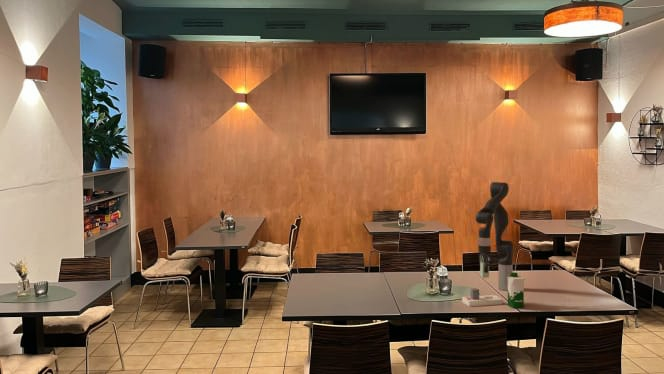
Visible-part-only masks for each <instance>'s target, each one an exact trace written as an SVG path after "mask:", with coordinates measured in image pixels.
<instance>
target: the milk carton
mask: <svg viewBox="0 0 664 374" xmlns="http://www.w3.org/2000/svg"><path fill="white" fill-rule="evenodd" d="M525 280H526V279H525V277H523V276H520V275H519V273H518V272H513V273H511V276H507V281H508V290H507V306H508V307H510V308H511V309H524V308H525V299H524V298H525V296H524V295H525V293H524V292H525V291H524V290H525ZM523 307H524V308H523Z"/></svg>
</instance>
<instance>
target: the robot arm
mask: <svg viewBox="0 0 664 374" xmlns="http://www.w3.org/2000/svg"><path fill="white" fill-rule="evenodd" d="M509 189H510V187H509V184H508V183H507V182H502V181H500V182H497V181H494V182H491V183H490V185H489V193H490V199H489V200H487V201H486V203H485V204H484V206H483V207H482V208H481V209H480V210H479V211H478V212H477V213H476V215H475V222H476V223H477V224H480V225H482V224H483V225H485V226H483V227H479V228H478V240H477V241H478V243H477V244H478V245H477V246H478V247H477V251H478V260H479V261H478V262H479V263H480V262H483V263H484V272H485V273H488V267H489V268H490V266H491V259H492V257H491V256H489V253H491V252H492V241H491V230H492V225H493V223H494V229H495V251H496V252H497V254H501V255H506V256H505V257H504V258H503V257H502V258H499V259H498V266H497V267H498V274H497V275H498V277H497V278H498V285H497V286H498V287H497V288H498V290H501V291H508V281H507V276H511V273H513V267H514V266H513V262H514V242H513V241H512V240H505V239H504V240H503V239H502V237H503V234H504V232H505V230H506V229H507V227H508V225H509V214H508V211H507V210H506V208H505V207H504V206H503V205H502V202H503V200H504V199H505V198H506V197H507V196H508V193H509V191H510V190H509ZM485 263H486V264H485ZM488 263H489V264H488Z"/></svg>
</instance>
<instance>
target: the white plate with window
mask: <svg viewBox="0 0 664 374" xmlns="http://www.w3.org/2000/svg"><path fill="white" fill-rule="evenodd" d="M461 302H462V303H463V304H465V305H466V306H468V307H479V306H480V307H481V306H497V305H504V299H503V298H501V297H500V296H497V295H496V294H493V295H490V294H489V295H480V289H479V288H476V287H475V288H473V287H472V288H470V296H462V297H461Z"/></svg>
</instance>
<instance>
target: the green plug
mask: <svg viewBox="0 0 664 374" xmlns="http://www.w3.org/2000/svg"><path fill="white" fill-rule="evenodd" d="M485 264H486V263H485ZM488 264H489V263H488ZM479 266H480V267H479V268H480V269H479V271H480V272H479V277H481V278H483V279H485V278H490V266H489V267H488V273H485V272H484V263H483V262H479Z"/></svg>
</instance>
